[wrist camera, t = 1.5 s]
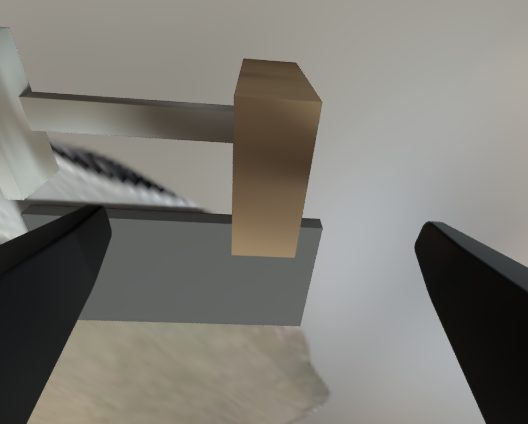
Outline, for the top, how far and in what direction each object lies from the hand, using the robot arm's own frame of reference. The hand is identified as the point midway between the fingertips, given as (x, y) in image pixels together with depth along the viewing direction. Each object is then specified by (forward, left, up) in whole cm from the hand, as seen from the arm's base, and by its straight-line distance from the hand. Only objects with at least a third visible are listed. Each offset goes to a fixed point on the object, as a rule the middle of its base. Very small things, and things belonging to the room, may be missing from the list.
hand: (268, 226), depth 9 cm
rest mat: (-11, +5, -9) cm, 15 cm away
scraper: (0, +5, -9) cm, 11 cm away
